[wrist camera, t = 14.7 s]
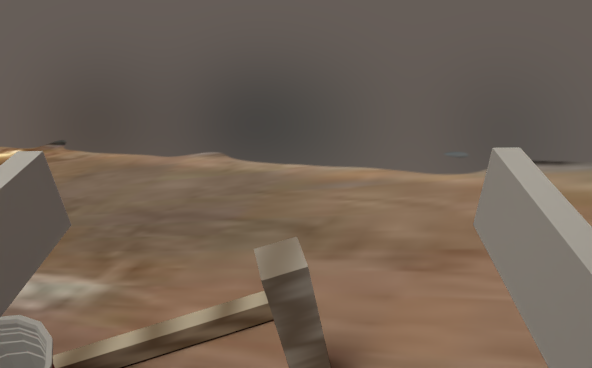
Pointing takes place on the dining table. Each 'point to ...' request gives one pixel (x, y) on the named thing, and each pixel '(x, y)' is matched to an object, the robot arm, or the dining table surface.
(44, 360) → the plastic cup
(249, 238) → the dining table surface
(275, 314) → the open rectangular frame
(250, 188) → the dining table surface
